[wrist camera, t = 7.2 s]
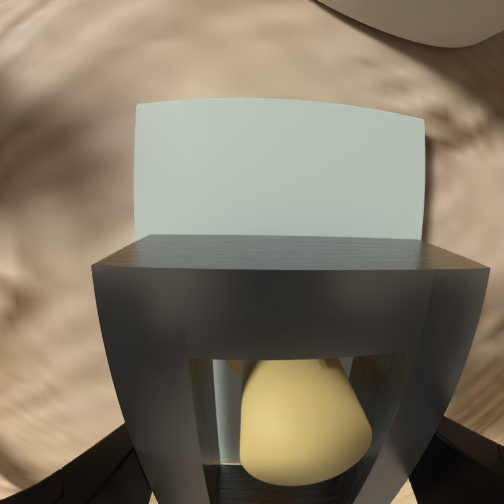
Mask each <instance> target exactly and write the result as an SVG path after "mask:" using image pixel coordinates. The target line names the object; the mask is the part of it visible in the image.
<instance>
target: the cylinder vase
mask: <svg viewBox="0 0 504 504" xmlns="http://www.w3.org/2000/svg"><path fill="white" fill-rule="evenodd" d="M317 1H319V2H321V3H323V4H325V5H326V6H328V7H330V8H332V9H334V10H336V11H338V12H340V13H342V14H344V15H346V16H348V17H350V18H353V19H355V20H357V21H359V22H361V23H364V24H366V25H368V26H371V27H373V28H376V29H378V30H381V31H383V32H386V33H389V34H391V35H394V36H397V37H400V38H403V39H407V40H410V41H414V42H417V43H422V44H426V45H431V46H438V47H449V48H457V47H466V46H471V45H474V44H477V43H479V42H481V41H483V40H485V39H487V38H489V37H491V36H493V35H495V34H497V33H499V32H502V31H504V0H317Z"/></svg>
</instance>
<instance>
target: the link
mask: <svg viewBox="0 0 504 504" xmlns="http://www.w3.org/2000/svg"><path fill="white" fill-rule="evenodd" d="M91 268H92V277H93V284H94V291H95V298H96V305H97V311H98V316H99V322H100V327H101V332H102V337H103V342H104V347H105V351H106V356H107V360H108V364H109V368H110V372H111V376H112V380H113V383H114V387H115V391H116V394H117V398H118V401H119V404H120V408H121V411H122V414H123V417H124V420H125V423H126V426H127V429H128V432H129V435H130V438H131V440H132V443H133V446H134V448H135V451H136V454H137V456H138V459H139V461H140V464H141V466H142V468H143V471H144V473H145V476H146V478H147V480H148V482H149V485H150V487H151V489H152V491H153V493H154V495H155V498H156V500H157V502H158V504H390V503H391V502H392V501H393V499H394V498H395V496H396V495H397V494H398V492H399V491H400V489H401V488H402V486H403V485H404V484H405V482H406V481H407V479H408V477H409V476H410V474H411V473H412V471H413V470H414V468H415V467H416V465H417V463H418V462H419V460H420V458H421V457H422V455H423V453H424V451H425V450H426V448H427V446H428V444H429V443H430V441H431V439H432V437H433V435H434V433H435V431H436V429H437V427H438V425H439V423H440V421H441V419H442V417H443V415H444V413H445V411H446V409H447V407H448V405H449V402H450V400H451V398H452V395H453V393H454V391H455V388H456V386H457V383H458V381H459V378H460V376H461V373H462V371H463V368H464V365H465V362H466V360H467V357H468V354H469V351H470V348H471V345H472V342H473V338H474V335H475V332H476V328H477V325H478V321H479V318H480V314H481V310H482V306H483V302H484V297H485V293H486V288H487V283H488V278H489V273H490V268H489V267H487V266H484V265H482V264H480V263H477V262H475V261H472V260H470V259H467V258H465V257H462V256H460V255H457V254H455V253H452V252H450V251H447V250H445V249H442V248H439V247H437V246H434V245H431V244H429V243H426V242H423V241H421V240H418V239H394V238H362V237H325V236H277V235H184V234H149V235H147V236H146V237H144V238H142V239H140V240H138V241H136V242H134V243H132V244H130V245H128V246H126V247H124V248H123V249H121V250H119V251H117V252H115V253H113V254H111V255H109V256H108V257H106V258H104V259H102V260H100V261H99V262H97V263H95V264H93V265H91ZM342 357H353V361H352V366H351V371H350V375H349V382H350V384H351V386H352V388H353V390H354V392H355V394H356V396H357V398H358V401H359V403H360V405H361V407H362V409H363V411H364V413H365V416H366V418H367V420H368V422H369V424H370V427H371V430H372V441H371V444H370V446H369V448H368V450H367V452H366V453H365V455H364V456H363V457H362V458H361V459H360V460H359V461H358V462H357V463H356V464H355V465H353V466H352V467H351V468H349V469H348V470H346V471H345V472H343V473H341V474H339V475H337V476H335V477H333V478H330V479H328V480H325V481H322V482H318V483H314V484H308V485H301V486H283V485H275V484H270V483H267V482H264V481H261V480H259V479H257V478H255V477H253V476H252V475H251V474H249V473H248V472H247V471H246V470H245V468H244V467H243V465H221V461H220V451H219V440H218V428H217V415H216V402H215V387H214V371H213V359H214V360H307V359H327V358H342Z"/></svg>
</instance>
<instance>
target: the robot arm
mask: <svg viewBox="0 0 504 504" xmlns="http://www.w3.org/2000/svg"><path fill="white" fill-rule="evenodd" d="M408 478H409V481H410V483H411V486H412V489H413V492H414V494H415V497H416V500H417V503H418V504H504V446H502V445H500V444H497V443H496V442H494V441H492V440H490V439H488V438H486V437H484V436H482V435H480V434H478V433H476V432H474V431H472V430H470V429H468V428H466V427H464V426H462V425H460V424H458V423H456V422H454V421H453V420H451V419H449V418H447V417H445V416H443V417H442V419H441V421H440V423H439V425H438V427H437V429H436V431H435V433H434V435H433V437H432V439H431V441H430V443H429V444H428V446H427V448H426V450H425V451H424V453H423V455H422V457H421V458H420V460H419V462H418V463H417V465H416V467H415V468H414V470H413V471H412V473H411V474H410V476H409V477H408ZM151 494H152V489H151V487H150V485H149V482H148V480H147V478H146V476H145V473H144V471H143V468H142V466H141V464H140V461H139V459H138V456H137V454H136V451H135V448H134V446H133V443H132V440H131V438H130V435H129V432H128V429H127V426H126V423H124V424H122V425H121V426H120V427H118V428H117V429H116V430H114V431H113V432H112V433H110V434H109V435H107V436H106V437H105V438H103V439H102V440H101V441H99V442H98V443H96V444H95V445H94V446H92V447H91V448H89V449H88V450H87V451H85V452H84V453H82V454H81V455H80V456H78V457H77V458H75V459H74V460H72V461H71V462H69V463H68V464H66V465H65V466H64V467H62V469H59V470H57V471H56V472H54V473H53V474H51V475H50V476H48V477H47V478H45V479H43V480H42V481H40V482H38V483H37V484H35V485H33V486H31V487H29V488H27V489H25V490H23V491H20V492H18V493H16V494H14V495H11V496H9V497H7V498H4V499H2V500H0V504H149V501H150V497H151Z"/></svg>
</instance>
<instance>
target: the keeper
mask: <svg viewBox="0 0 504 504" xmlns="http://www.w3.org/2000/svg"><path fill="white" fill-rule="evenodd" d="M424 194H425V130H424V119H420V118H416V117H412V116H407V115H402V114H398V113H393V112H387V111H382V110H376V109H370V108H364V107H358V106H351V105H343V104H335V103H326V102H317V101H305V100H292V99H273V98H205V99H186V100H172V101H161V102H151V103H143V104H137V107H136V122H135V142H134V223H135V242H136V241H138V240H140V239H142V238H144V237H146V236H147V235H149V234H184V235H277V236H325V237H362V238H394V239H418V240H421V236H422V225H423V212H424ZM352 361H353V357H342V358H327V359H307V360H214V359H213V371H214V387H215V402H216V415H217V428H218V440H219V451H220V461H221V462H223V463H242V465H243V467H244V468H245V470H246V471H247V472H248V473H249V474H251V475H252V476H253V477H255V478H257V479H259V480H261V481H264V482H267V483H270V484H275V485H283V486H301V485H308V484H314V483H318V482H322V481H325V480H328V479H330V478H333V477H335V476H337V475H339V474H341V473H343V472H345V471H346V470H348V469H349V468H351V467H352V466H353V465H355V464H356V463H357V462H358V461H359V460H360V459H361V458H362V457H363V456H364V455H365V453H366V452H367V450H368V448H369V446H370V444H371V441H372V430H371V427H370V424H369V422H368V420H367V418H366V416H365V413H364V411H363V409H362V407H361V405H360V403H359V401H358V398H357V396H356V394H355V392H354V390H353V388H352V386H351V384H350V382H349V375H350V371H351V366H352Z"/></svg>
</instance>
